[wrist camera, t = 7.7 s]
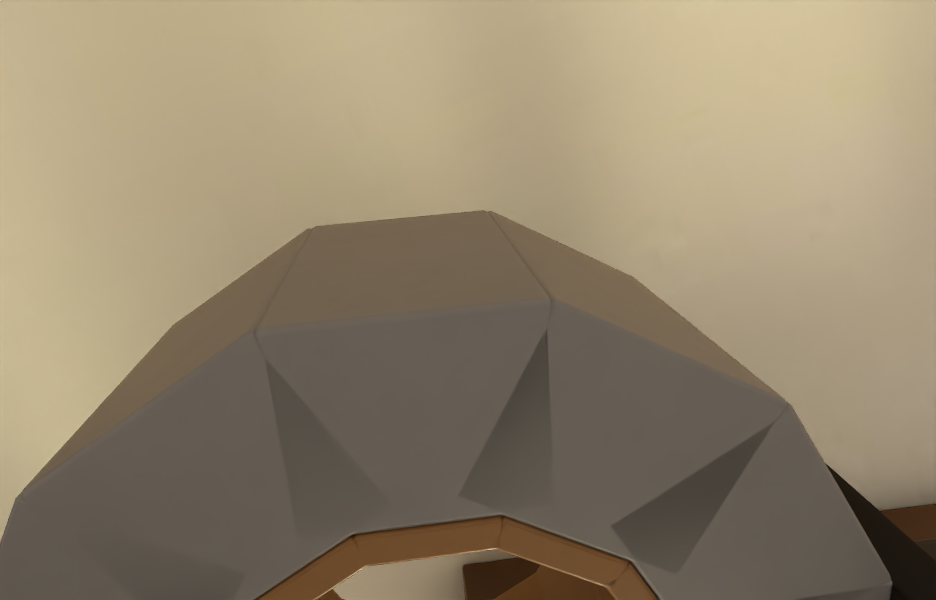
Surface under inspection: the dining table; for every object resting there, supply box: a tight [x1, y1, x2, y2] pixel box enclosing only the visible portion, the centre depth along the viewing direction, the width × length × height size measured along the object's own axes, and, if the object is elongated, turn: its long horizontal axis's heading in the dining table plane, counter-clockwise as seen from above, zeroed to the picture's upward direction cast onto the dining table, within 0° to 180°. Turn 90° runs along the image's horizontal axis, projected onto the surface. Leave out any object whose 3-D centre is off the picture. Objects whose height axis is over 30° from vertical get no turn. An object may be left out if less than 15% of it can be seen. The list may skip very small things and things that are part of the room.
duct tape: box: [0, 210, 892, 600], centre depth 11 cm, size 11×11×5 cm
